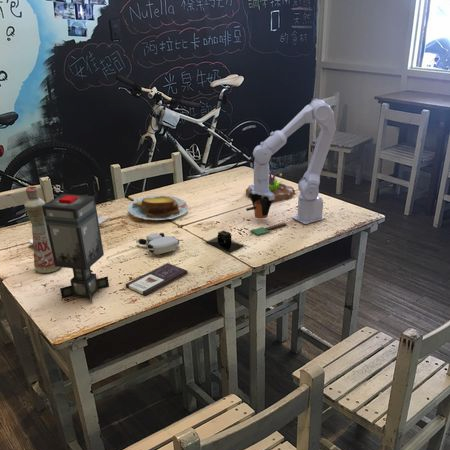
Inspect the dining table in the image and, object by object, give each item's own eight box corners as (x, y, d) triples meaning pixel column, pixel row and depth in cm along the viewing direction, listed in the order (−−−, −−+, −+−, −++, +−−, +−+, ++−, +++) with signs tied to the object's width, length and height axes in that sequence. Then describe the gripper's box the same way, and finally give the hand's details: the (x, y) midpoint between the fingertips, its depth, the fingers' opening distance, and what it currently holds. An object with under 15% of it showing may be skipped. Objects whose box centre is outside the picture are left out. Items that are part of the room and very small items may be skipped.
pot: (262, 212, 202) (262, 196, 198) (270, 216, 198) (270, 200, 195) (242, 218, 198) (242, 201, 194) (250, 222, 194) (250, 205, 191)
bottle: (68, 263, 172) (51, 182, 158) (54, 275, 165) (35, 191, 151) (44, 261, 174) (26, 181, 160) (30, 273, 167) (9, 190, 152)
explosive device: (80, 282, 160) (62, 190, 145) (109, 286, 158) (94, 193, 142) (62, 298, 152) (40, 202, 137) (92, 303, 149) (74, 205, 134)
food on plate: (179, 198, 225) (178, 184, 222) (197, 217, 205) (196, 202, 202) (122, 207, 217) (120, 192, 214) (135, 227, 198) (133, 211, 194)
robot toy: (134, 248, 183) (154, 260, 172) (132, 236, 181) (152, 247, 170) (164, 239, 189) (185, 250, 178) (163, 228, 187) (184, 238, 176)
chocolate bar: (187, 270, 163) (145, 292, 152) (187, 273, 164) (145, 295, 152) (167, 262, 168) (125, 283, 157) (167, 265, 169) (126, 286, 157)
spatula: (281, 223, 198) (281, 221, 198) (288, 227, 194) (288, 225, 194) (250, 231, 192) (250, 229, 191) (257, 236, 188) (257, 234, 188)
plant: (238, 194, 227) (237, 170, 222) (268, 184, 239) (268, 160, 233) (271, 205, 215) (271, 179, 209) (301, 194, 226) (302, 169, 220)
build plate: (244, 246, 181) (244, 234, 178) (229, 253, 176) (229, 241, 174) (219, 236, 188) (219, 225, 186) (205, 243, 184) (204, 231, 181)
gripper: (241, 175, 195) (242, 209, 202) (263, 185, 184) (263, 220, 191) (257, 172, 198) (257, 205, 205) (279, 181, 187) (278, 216, 194)
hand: (261, 212), depth 198 cm, fingers closed on pot, 5 cm apart
